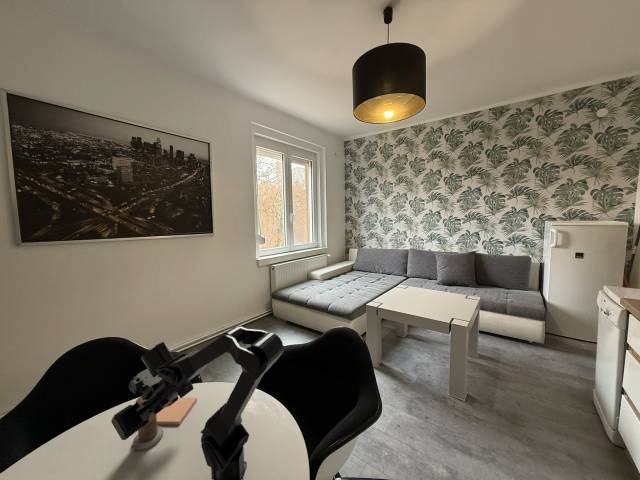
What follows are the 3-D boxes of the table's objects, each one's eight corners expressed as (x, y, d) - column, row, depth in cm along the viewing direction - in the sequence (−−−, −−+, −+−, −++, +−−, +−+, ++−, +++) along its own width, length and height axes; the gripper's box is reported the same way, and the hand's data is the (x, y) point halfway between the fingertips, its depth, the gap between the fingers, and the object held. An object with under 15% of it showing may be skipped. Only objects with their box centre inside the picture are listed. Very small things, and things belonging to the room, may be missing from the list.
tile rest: (197, 400, 85) (196, 397, 85) (179, 424, 75) (179, 421, 75) (168, 400, 85) (168, 397, 85) (147, 424, 75) (147, 421, 75)
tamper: (168, 428, 73) (165, 390, 72) (152, 450, 66) (148, 408, 65) (145, 428, 73) (142, 390, 72) (126, 450, 66) (122, 408, 65)
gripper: (182, 346, 75) (159, 373, 80) (112, 384, 58) (88, 416, 63) (203, 376, 73) (179, 402, 78) (137, 425, 56) (110, 455, 60)
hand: (143, 415), depth 70 cm, fingers closed on tamper, 4 cm apart
